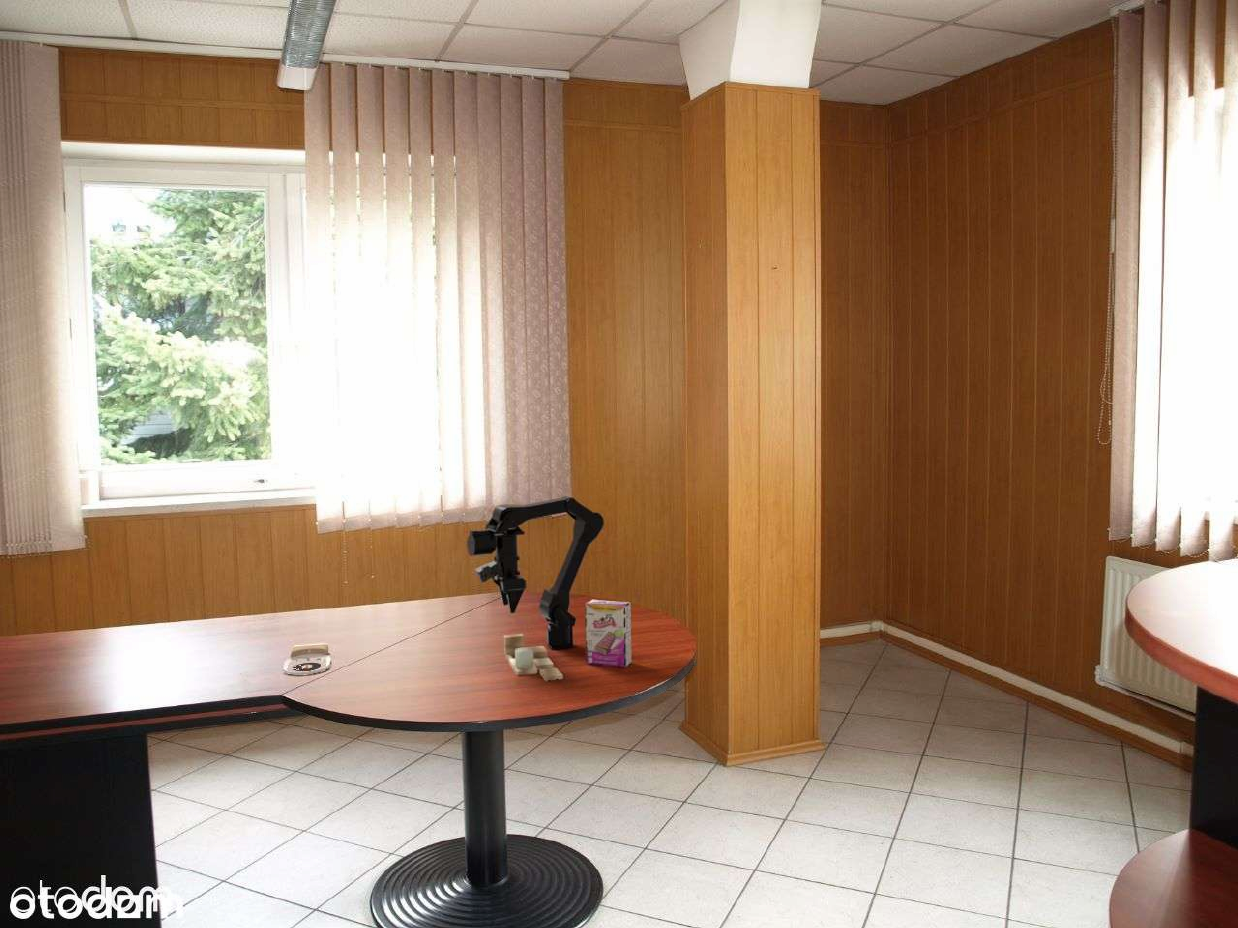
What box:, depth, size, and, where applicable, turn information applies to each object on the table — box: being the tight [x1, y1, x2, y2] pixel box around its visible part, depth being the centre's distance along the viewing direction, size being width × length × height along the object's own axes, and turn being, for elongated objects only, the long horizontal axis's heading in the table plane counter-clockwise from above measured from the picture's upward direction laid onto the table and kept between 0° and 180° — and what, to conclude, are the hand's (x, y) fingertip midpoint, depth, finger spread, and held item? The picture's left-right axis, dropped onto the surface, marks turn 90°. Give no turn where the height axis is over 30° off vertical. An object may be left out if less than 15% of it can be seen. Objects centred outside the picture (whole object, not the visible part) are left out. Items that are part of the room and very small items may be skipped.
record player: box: [283, 642, 332, 675], centre depth 280 cm, size 12×3×20 cm
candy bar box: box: [585, 599, 633, 668], centre depth 273 cm, size 11×5×16 cm, turn 71°
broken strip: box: [528, 645, 564, 682], centre depth 272 cm, size 4×23×2 cm, turn 16°
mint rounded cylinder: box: [514, 646, 534, 670], centre depth 270 cm, size 5×5×4 cm
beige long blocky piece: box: [503, 633, 538, 676], centre depth 275 cm, size 5×19×6 cm, turn 16°
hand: (508, 608), depth 284 cm, fingers open, 9 cm apart
